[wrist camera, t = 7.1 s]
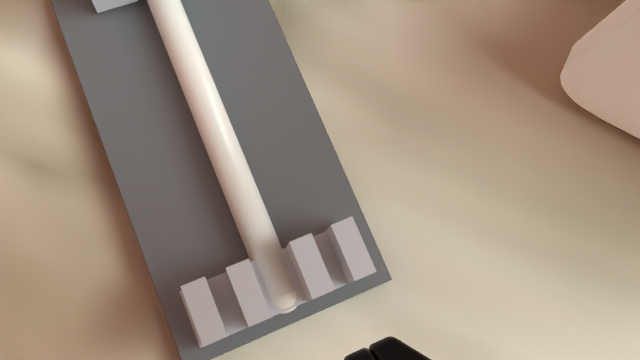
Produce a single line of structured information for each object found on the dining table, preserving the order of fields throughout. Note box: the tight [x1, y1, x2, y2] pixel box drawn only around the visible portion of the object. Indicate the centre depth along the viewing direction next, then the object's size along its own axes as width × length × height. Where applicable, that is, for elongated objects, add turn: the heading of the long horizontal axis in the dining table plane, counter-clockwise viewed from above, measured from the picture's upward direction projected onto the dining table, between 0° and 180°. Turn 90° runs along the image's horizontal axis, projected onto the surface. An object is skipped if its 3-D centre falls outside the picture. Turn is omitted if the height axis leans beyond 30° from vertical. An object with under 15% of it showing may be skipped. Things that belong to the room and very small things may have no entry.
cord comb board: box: [51, 0, 392, 360], centre depth 22 cm, size 25×8×4 cm, turn 23°
